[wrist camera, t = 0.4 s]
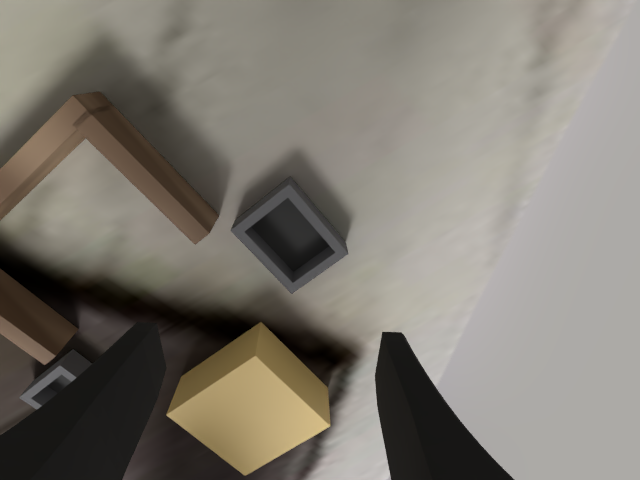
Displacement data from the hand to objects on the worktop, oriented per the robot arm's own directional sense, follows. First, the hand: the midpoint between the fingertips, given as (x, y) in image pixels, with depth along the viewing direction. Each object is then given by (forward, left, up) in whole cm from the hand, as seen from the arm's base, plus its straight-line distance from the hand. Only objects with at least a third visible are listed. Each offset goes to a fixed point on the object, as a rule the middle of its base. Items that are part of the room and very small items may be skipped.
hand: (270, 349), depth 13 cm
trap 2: (0, 0, -11) cm, 11 cm away
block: (-9, -7, -11) cm, 16 cm away
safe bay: (-9, +7, -11) cm, 15 cm away
